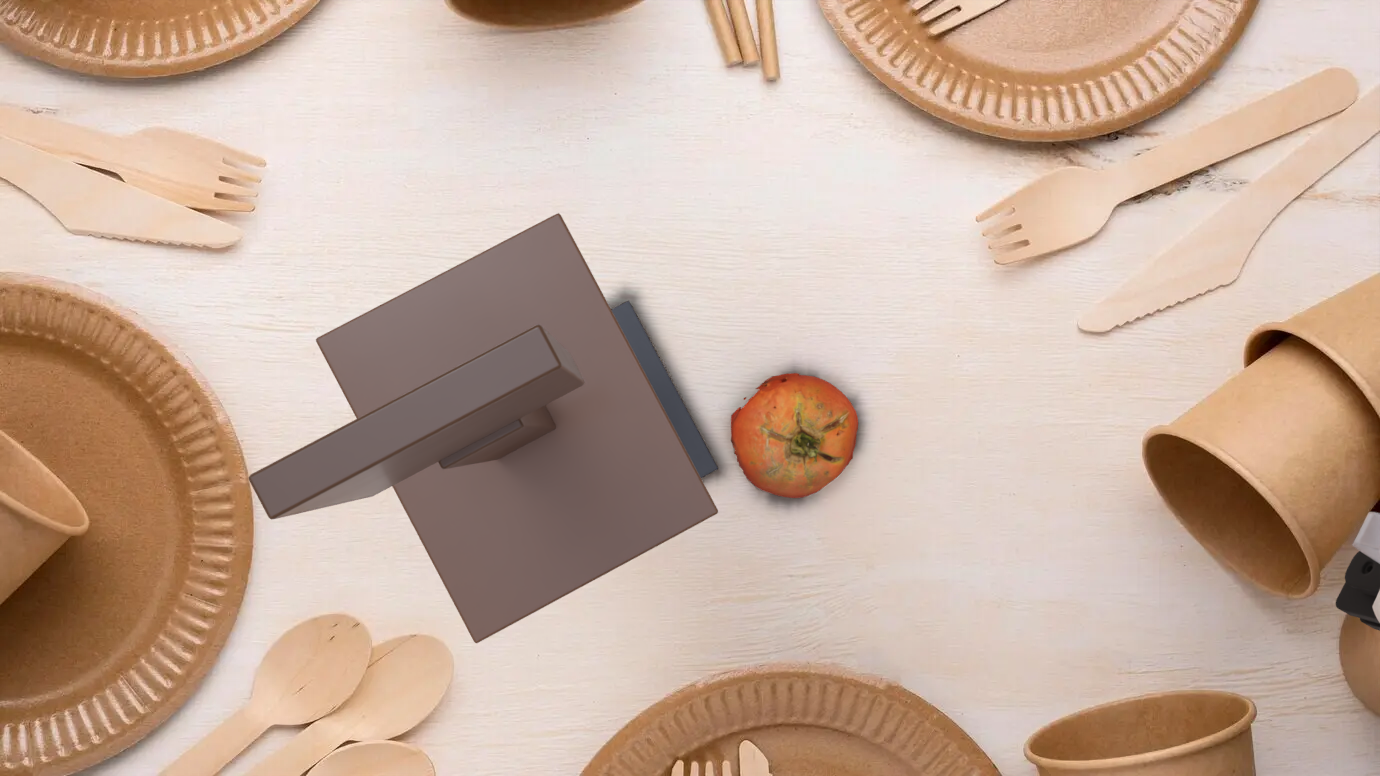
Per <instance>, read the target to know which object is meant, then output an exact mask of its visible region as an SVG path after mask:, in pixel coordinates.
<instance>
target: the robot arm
mask: <svg viewBox="0 0 1380 776" xmlns="http://www.w3.org/2000/svg"><path fill="white" fill-rule="evenodd" d="M1351 546H1352V547H1354V549H1356V550H1357V552H1356V554H1354V556H1353V557H1352V558H1351V560H1350V562H1349V564H1348V566H1347V568H1346V571H1345V573H1344V581H1345V582H1344V583H1343V586H1342V588H1341V590H1340V592H1339V593H1338V596H1337V598H1336V600H1335V608H1337V609H1338V610H1340V611H1341V612H1343V613H1345V614H1347V615H1349V616H1351V617H1355V618H1358V619H1359V620H1360V622H1361V623H1363V624H1364V625H1366V626H1368V627H1369V628H1371V629H1374V630H1375V631H1379V632H1380V512H1377V511H1368V513H1367V514H1366V516H1365V517H1364V520H1363V522H1362V524H1361V526H1360V527H1359V530H1358V532H1357V533H1356V536H1355V538H1354V539H1353V541H1352V543H1351Z"/></svg>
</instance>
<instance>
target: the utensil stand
mask: <svg viewBox="0 0 1380 776" xmlns="http://www.w3.org/2000/svg"><path fill="white" fill-rule="evenodd" d="M315 342H316V344H317V346H318V348H319V350H320V351H321V354H322V356H323V357H324V359H325V362H326V363H327V365H328V367H329V369H330V371H331V372H332V374H333V377H334V378H335V380H336V382H337V384H338V386H339V388H340V390H341V392H342V393H343V395H344V397H345V399H346V401H347V403H348V406H349V407H350V409H351V410H352V412H353V414H354V416H355V418H356V419H353V420H352V421H350V422H348V423H345V424H344V425H341V426H340V427H338V428H337V429H334V430H333V431H331V432H329V433H327V434H325V435H323V436H321V437H319V438H317V439H315V440H314V441H312V442H310V443H308V444H306V445H304V446H302V447H301V448H298V449H297V450H295V451H293V452H291V453H289V454H287V455H285V456H283V457H281V458H279V459H277V460H275V461H274V462H272V463H270V464H268V465H266V466H263V467H262V468H260V469H258V470H256V471H255V472H253V473H251V474H250V475H249V476H248V481H249V483H250V485H251V487H252V489H253V490H254V492H255V495H256V496H257V498H258V500H259V502H260V504H261V505H262V508H263V510H264V512H265V514H266V516H267V517H268V519H270V520H277V519H281V518H285V517H286V518H287V517H290V516H294V515H298V514H304V513H306V512H311V511H315V510H320V509H326V508H329V507H332V506H338V505H341V504H346V503H349V502H350V503H351V502H355V501H359V500H364V499H369V498H372V497H375V496H376V495H378V494H380V493H382V492H384V491H386V490H388V489H390V488H391V487H392V489H393V490H394V492H395V495H396V496H397V498H398V500H399V502H400V504H401V506H402V507H403V509H404V511H405V513H406V515H407V517H408V519H409V521H410V523H411V525H412V527H413V528H414V530H415V532H416V534H417V536H418V538H419V540H420V542H421V544H422V546H423V548H424V550H425V551H426V553H427V555H428V557H429V559H430V561H431V563H432V565H433V567H434V568H435V570H436V572H437V574H438V576H439V578H440V580H441V582H442V583H443V585H444V588H445V590H446V591H447V593H448V595H449V597H450V599H451V601H452V603H453V604H454V606H455V609H456V611H457V612H458V614H459V616H460V618H461V620H462V622H463V624H464V625H465V627H466V629H467V631H468V633H469V635H470V637H471V639H472V641H473V642H474V643H475V644H479V643H480V642H483V641H485V640H487V639H488V638H490V637H492V636H494V635H495V634H497V633H499V632H500V631H503V630H505V629H507V628H508V627H510V626H512V625H514V624H516V623H517V622H520V621H521V620H523V619H525V618H527V617H529V616H531V615H532V614H534V613H536V612H539V611H540V610H541V609H544V608H545V607H547V606H549V605H551V604H553V603H554V602H557V601H558V600H560V599H562V598H564V597H566V596H567V595H569V594H572V593H573V592H575V591H577V590H579V589H581V588H583V587H584V586H586V585H588V584H590V583H592V582H593V581H595V580H597V579H599V578H601V577H602V576H605V575H606V574H608V573H610V572H612V571H614V570H616V569H618V568H619V567H622V566H624V565H625V564H627V563H630V562H631V561H632V560H634V559H636V558H638V557H640V556H641V555H644V554H645V553H647V552H649V551H651V550H653V549H655V548H657V547H658V546H661V545H662V544H664V543H665V542H667V541H670V540H671V539H673V538H675V537H677V536H679V535H681V534H682V533H684V532H687V531H688V530H690V529H692V528H694V527H695V526H697V525H699V524H701V523H703V522H704V521H706V520H708V519H710V518H712V517H714V516H716V515H717V514H718V513H719V510H718V507H717V506H716V503H715V502H714V500H713V498H712V497H711V494H710V492H709V491H708V489H707V486H706V484H705V483H704V481H703V478H704V477H706V476H708V475H710V474H712V473H713V472H715V471H717V470H718V469H719V467H718V465H717V463H716V461H715V459H714V457H713V455H712V454H711V452H710V450H709V448H708V446H707V444H706V443H705V441H704V438H703V437H702V434H701V433H700V431H699V429H698V427H697V426H696V423H695V421H694V419H693V418H692V416H691V414H690V412H689V411H688V408H687V407H686V405H685V403H684V401H683V400H682V397H681V395H680V394H679V392H678V390H677V388H676V386H675V385H674V381H672V379H671V377H670V375H669V373H668V371H667V369H666V367H665V366H664V365H665V364H664V363H663V362H662V359H661V358H660V356H659V354H658V352H657V350H656V348H655V347H654V344H653V343H652V341H651V339H650V337H649V336H648V333H647V331H646V330H645V328H644V326H643V324H642V322H641V320H640V318H639V316H638V315H637V313H636V311H635V309H634V307H633V306H632V303H631V302H630V300H626V301H624V302H622V303H620V304H618V305H617V306H614V307H613V308H611V306H610V304H609V303H608V300H607V299H606V297H605V295H604V293H603V292H602V290H601V288H600V286H599V284H598V282H597V280H596V278H595V276H594V274H593V273H592V270H591V268H590V267H589V265H588V264H587V262H586V260H585V258H584V256H583V254H582V252H581V250H580V248H579V246H578V244H577V242H576V241H575V239H574V237H573V235H572V233H571V231H570V229H569V228H568V226H567V223H566V222H565V220H564V218H563V216H562V214H560V213H559V212H558V213H555V214H553V215H551V216H549V217H548V218H545V219H544V220H542V221H540V222H538V223H536V224H534V225H532V226H529V227H528V228H526V229H525V230H522V231H520V232H519V233H517V234H515V235H513V236H511V237H509V238H507V239H504V240H503V241H501V242H499V243H498V244H495V245H493V246H491V247H490V248H488V249H486V250H483V251H482V252H480V253H478V254H476V255H474V256H473V257H470V258H468V259H467V260H466V259H465V260H464V261H463V262H460V263H459V264H457V265H455V266H452V267H451V268H449V269H447V270H445V271H443V272H441V273H440V274H438V275H436V276H434V277H432V278H429V279H428V280H426V281H424V282H421V283H420V284H418V285H416V286H414V287H412V288H411V289H409V290H406V291H404V292H403V293H401V294H399V295H397V296H395V297H392V298H391V299H390V300H388V301H386V302H384V303H382V304H380V305H377V306H376V307H374V308H372V309H369V310H368V311H366V312H363V313H362V314H359V316H356V317H355V318H353V319H351V320H348V321H347V322H345V323H342V324H341V325H339V326H336V327H335V328H333V329H331V330H330V331H328V332H325V333H324V334H322V335H319V336H318V337H316V339H315Z"/></svg>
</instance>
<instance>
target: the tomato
mask: <svg viewBox="0 0 1380 776" xmlns="http://www.w3.org/2000/svg"><path fill="white" fill-rule="evenodd" d="M755 390H757V391H756V392H755V393H754V394H753V395H752V396H751V397H750V398H749V399H748V400H747V401H746V403H745V405H744V406H740V407H738V408H737V409H736V410H734V412H733V413H732V414H731V415H730V435H731V436H730V442H731V445H732V448H733V449H734V452H733V453H734V455H735V456H736V461H737V463H738V467H739V468H740V469H741V470H742V473H743V475H744V476H745V478H746V480H748V481H749V483H751V484H752V485H753V486H754V487H755V488H757V489H759V490H761V491H762V492H765V493H767V494H768V493H769V494H771V495H775V496H778V497H782V498H788V499H801V498H802V499H803V498H807V497H809V496H811V495H814V494H816V493H818V492H820V491H821V490H822V489H823V488H825V487H826V486H828V484H830V483H831V482H833V481H834V480H835V479H836V478H838V476H840V475H841V474H843V473H842V472H843V471H844V470H845V469H846V468H847V466H848V465H849V464H850V462H851V461H852V460H853V459H854V451H855V449H856V445H857V434H858V430H859V417H858V413H857V411H856V409H855V408H854V405H853V404H852V402H851V401H850V399H849V398H848V397H847V396H846V395H845V394H844V392H842V391H841V390H840V389H839V388H837V387H836V386H835V385H834V384H833V383H830V382H828V381H827V380H825V379H822V378H820V377H817V376H814V375H808V374H807V375H806V374H800V373H798V372H793V373H792V372H791V373H782V374H779V375H772V376H771V377H769V378H767V379H766V380H764V381H763V382H762V383H761V384H760V385H759V386H757V387H755ZM746 399H747V396H745V397H743V401H745V400H746Z"/></svg>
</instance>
